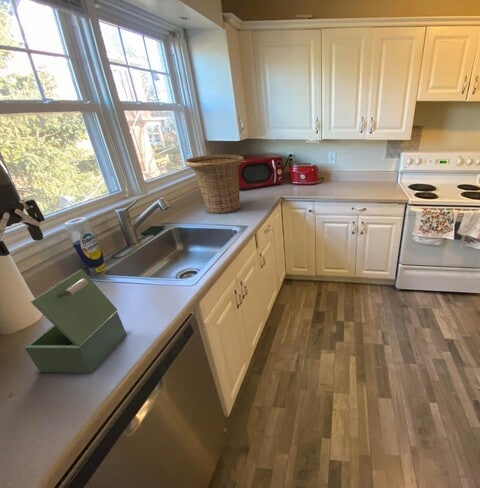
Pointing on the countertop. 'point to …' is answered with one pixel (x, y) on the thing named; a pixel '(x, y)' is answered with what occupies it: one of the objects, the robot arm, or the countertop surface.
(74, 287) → the bin lid
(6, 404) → the countertop surface
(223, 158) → the wicker basket
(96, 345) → the bin
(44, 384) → the countertop surface
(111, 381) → the countertop surface
